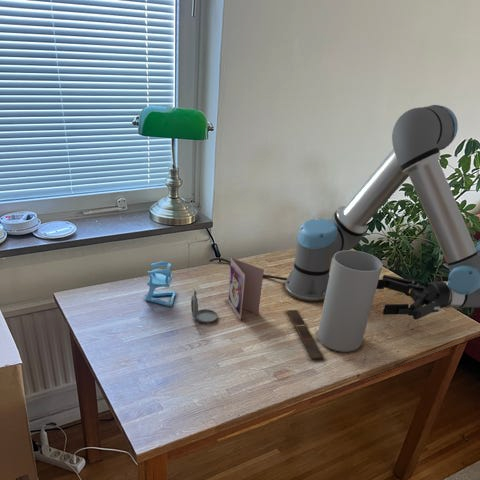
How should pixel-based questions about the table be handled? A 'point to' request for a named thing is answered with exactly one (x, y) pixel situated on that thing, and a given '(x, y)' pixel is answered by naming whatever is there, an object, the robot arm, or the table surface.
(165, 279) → the chair
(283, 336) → the table surface
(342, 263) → the cylinder vase
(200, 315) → the pocket watch
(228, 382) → the table surface
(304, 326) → the ruler
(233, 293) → the greeting card
